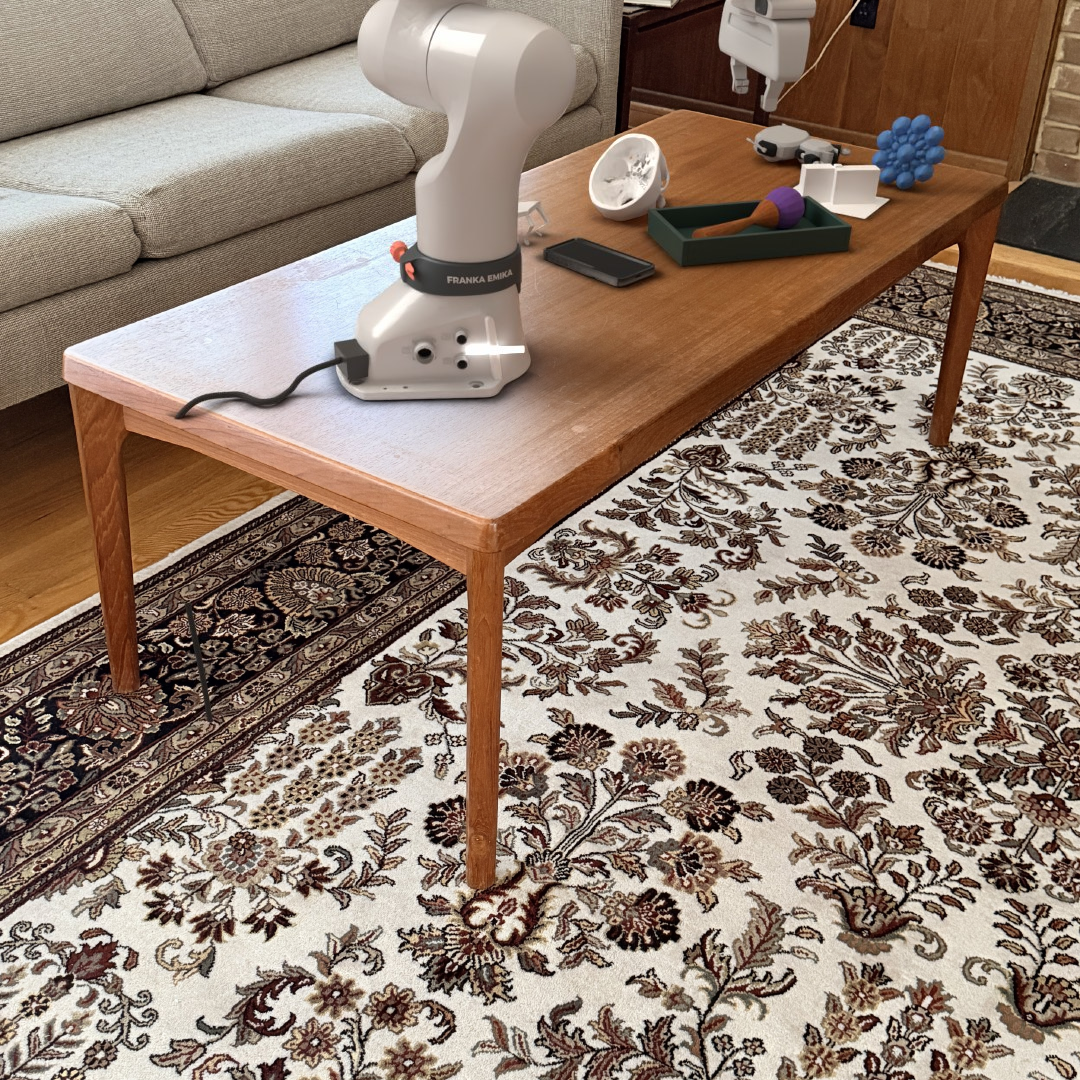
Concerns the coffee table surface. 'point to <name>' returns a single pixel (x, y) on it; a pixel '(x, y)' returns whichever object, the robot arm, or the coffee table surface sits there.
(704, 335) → the coffee table surface
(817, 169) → the napkin holder
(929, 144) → the blue beaded flower
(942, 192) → the coffee table surface
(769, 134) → the robot toy
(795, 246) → the tray
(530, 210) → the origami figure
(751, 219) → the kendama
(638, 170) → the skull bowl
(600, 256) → the phone
